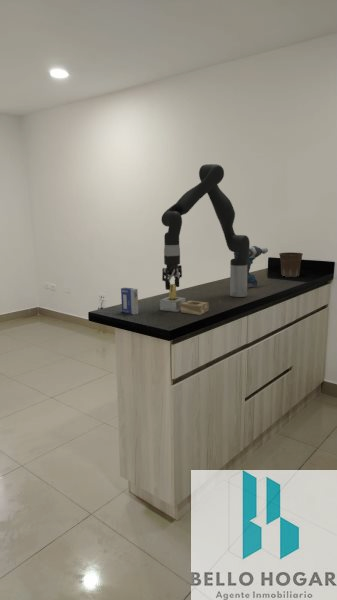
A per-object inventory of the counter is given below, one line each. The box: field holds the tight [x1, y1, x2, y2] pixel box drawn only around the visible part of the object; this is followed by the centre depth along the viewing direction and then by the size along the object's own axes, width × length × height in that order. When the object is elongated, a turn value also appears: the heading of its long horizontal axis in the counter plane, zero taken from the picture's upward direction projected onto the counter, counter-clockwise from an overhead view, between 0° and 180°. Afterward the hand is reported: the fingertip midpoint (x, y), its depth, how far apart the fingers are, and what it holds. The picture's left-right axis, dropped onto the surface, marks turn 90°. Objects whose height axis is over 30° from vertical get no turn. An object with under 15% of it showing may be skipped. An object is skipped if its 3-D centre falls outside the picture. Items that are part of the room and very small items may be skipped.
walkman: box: [120, 287, 139, 315], centre depth 193 cm, size 8×3×12 cm, turn 56°
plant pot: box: [278, 252, 303, 278], centre depth 291 cm, size 16×16×16 cm
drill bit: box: [168, 283, 177, 300], centre depth 199 cm, size 3×3×12 cm
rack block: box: [180, 300, 210, 316], centre depth 194 cm, size 9×10×4 cm
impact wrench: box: [233, 245, 268, 289], centre depth 252 cm, size 8×23×25 cm, turn 112°
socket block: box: [159, 296, 187, 313], centre depth 200 cm, size 9×9×5 cm
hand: (172, 288), depth 198 cm, fingers open, 8 cm apart
